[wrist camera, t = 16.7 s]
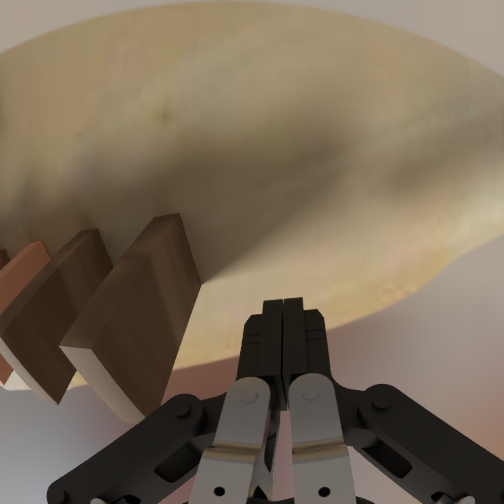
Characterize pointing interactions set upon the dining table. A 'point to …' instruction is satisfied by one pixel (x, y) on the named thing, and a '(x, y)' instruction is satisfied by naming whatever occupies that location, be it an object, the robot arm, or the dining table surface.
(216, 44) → the dining table surface
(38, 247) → the domino
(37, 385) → the domino
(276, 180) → the dining table surface
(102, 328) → the domino
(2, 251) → the domino
